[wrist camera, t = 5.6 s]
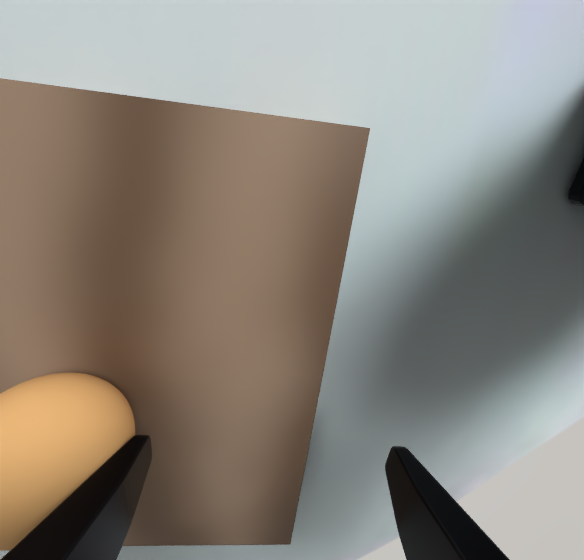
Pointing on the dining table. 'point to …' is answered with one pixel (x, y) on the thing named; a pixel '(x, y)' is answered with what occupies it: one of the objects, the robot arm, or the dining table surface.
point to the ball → (54, 444)
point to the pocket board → (180, 287)
